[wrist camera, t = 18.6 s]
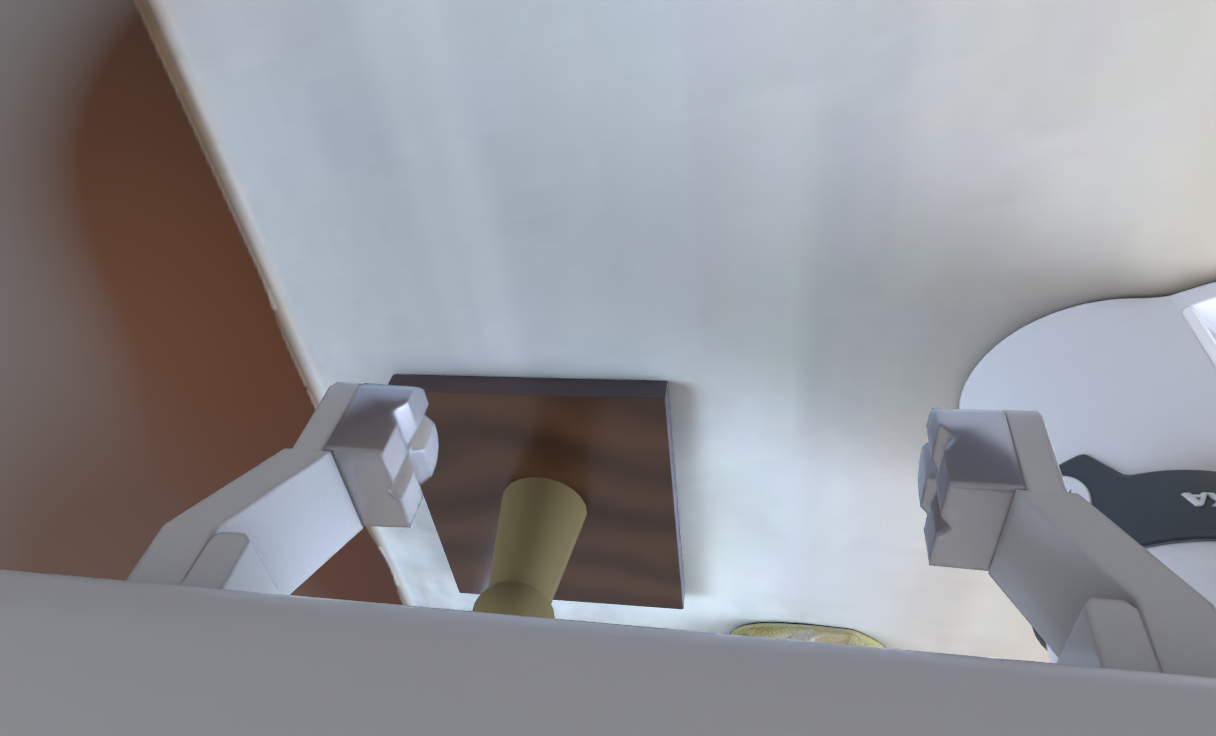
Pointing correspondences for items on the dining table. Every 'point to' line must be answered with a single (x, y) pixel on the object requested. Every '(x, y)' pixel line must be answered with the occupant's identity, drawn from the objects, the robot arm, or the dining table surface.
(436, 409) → the walnut board
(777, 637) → the ceramic model
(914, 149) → the dining table surface
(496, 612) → the olive tapered cylinder
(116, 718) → the robot arm
